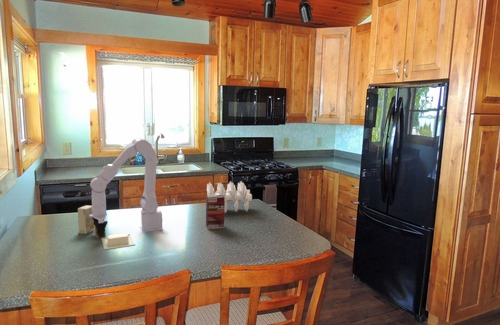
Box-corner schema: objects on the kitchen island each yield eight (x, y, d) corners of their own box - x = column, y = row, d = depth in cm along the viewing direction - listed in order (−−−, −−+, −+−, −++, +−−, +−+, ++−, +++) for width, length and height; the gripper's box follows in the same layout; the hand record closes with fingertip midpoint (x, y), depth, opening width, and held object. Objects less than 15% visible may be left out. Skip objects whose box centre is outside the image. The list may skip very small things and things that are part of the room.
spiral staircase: (251, 219, 203) (208, 219, 197) (245, 199, 217) (205, 199, 211) (257, 194, 193) (212, 194, 187) (250, 175, 208) (208, 174, 201)
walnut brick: (104, 235, 163) (104, 224, 162) (105, 237, 159) (105, 227, 158) (95, 236, 161) (94, 225, 160) (96, 239, 157) (95, 228, 157)
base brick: (127, 239, 156) (126, 233, 155) (128, 242, 152) (128, 236, 152) (107, 242, 152) (107, 235, 152) (108, 245, 148) (108, 238, 148)
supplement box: (207, 229, 173) (207, 197, 170) (205, 226, 177) (205, 195, 175) (224, 228, 175) (225, 196, 173) (222, 225, 180) (222, 194, 177)
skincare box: (86, 235, 162) (85, 209, 160) (78, 234, 163) (76, 208, 161) (95, 230, 168) (94, 205, 166) (87, 229, 169) (86, 204, 167)
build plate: (129, 235, 162) (129, 234, 162) (135, 246, 150) (135, 244, 150) (101, 239, 156) (101, 237, 156) (104, 251, 144) (104, 249, 144)
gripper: (88, 201, 162) (89, 230, 164) (90, 209, 150) (91, 240, 152) (104, 200, 165) (105, 228, 167) (108, 208, 153) (109, 238, 155)
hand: (100, 234), depth 160 cm, fingers open, 7 cm apart
